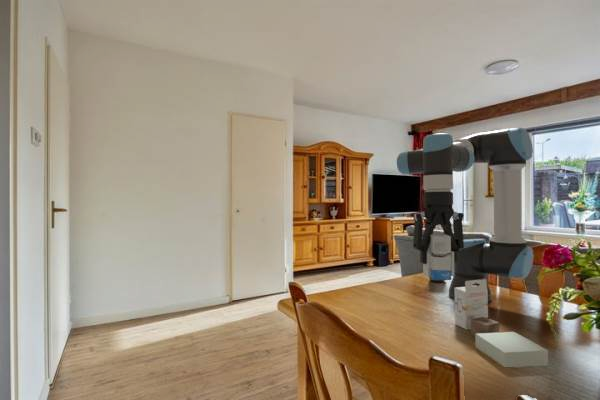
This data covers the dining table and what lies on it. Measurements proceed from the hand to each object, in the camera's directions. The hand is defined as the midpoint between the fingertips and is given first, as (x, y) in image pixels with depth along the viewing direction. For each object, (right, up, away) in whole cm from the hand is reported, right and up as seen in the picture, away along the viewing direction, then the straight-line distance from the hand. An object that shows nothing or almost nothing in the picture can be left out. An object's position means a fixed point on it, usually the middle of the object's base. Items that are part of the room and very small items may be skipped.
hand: (438, 274), depth 91 cm
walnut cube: (+14, -19, +3) cm, 24 cm away
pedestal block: (+15, -19, -8) cm, 25 cm away
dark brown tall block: (+27, -18, +66) cm, 74 cm away
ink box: (0, -1, 0) cm, 1 cm away
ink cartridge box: (+15, -19, +12) cm, 27 cm away
